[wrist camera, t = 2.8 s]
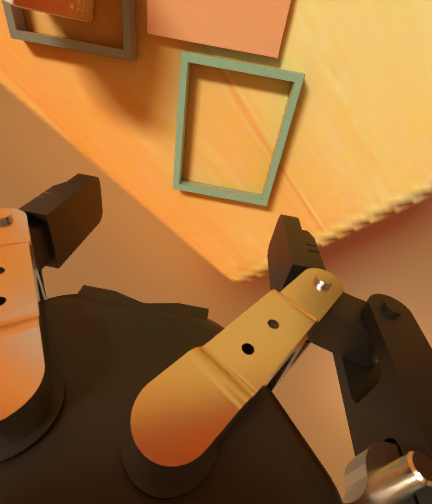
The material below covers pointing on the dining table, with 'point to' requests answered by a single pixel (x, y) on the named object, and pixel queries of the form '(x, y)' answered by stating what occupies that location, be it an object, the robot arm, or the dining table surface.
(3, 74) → the dining table surface
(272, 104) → the dining table surface
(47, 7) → the small box
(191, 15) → the terracotta tile
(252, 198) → the green rectangular frame
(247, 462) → the robot arm
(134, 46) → the grey rectangular frame
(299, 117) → the dining table surface
